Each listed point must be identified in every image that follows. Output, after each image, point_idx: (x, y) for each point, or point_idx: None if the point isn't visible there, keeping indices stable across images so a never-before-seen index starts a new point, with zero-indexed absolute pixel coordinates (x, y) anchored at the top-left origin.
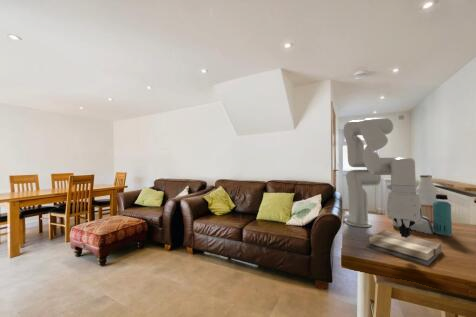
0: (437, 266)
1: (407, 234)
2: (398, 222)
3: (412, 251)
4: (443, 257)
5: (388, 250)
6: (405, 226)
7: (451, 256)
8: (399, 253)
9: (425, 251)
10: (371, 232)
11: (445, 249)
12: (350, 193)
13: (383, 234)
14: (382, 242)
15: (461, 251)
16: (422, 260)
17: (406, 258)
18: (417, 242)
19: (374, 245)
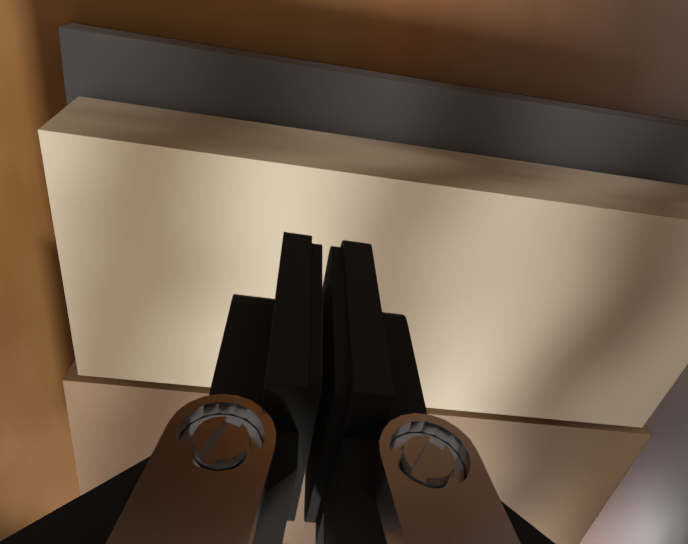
0: (4, 86)
1: (260, 299)
2: (473, 512)
3: (225, 141)
4: (62, 361)
5: (499, 135)
6: (269, 415)
7: (32, 419)
8: (377, 126)
9: (85, 201)
10: (645, 529)
11: None
12: None
13: (575, 459)
14: (597, 199)
15: None
16: (129, 84)
17: (293, 59)
18: None
19: None
